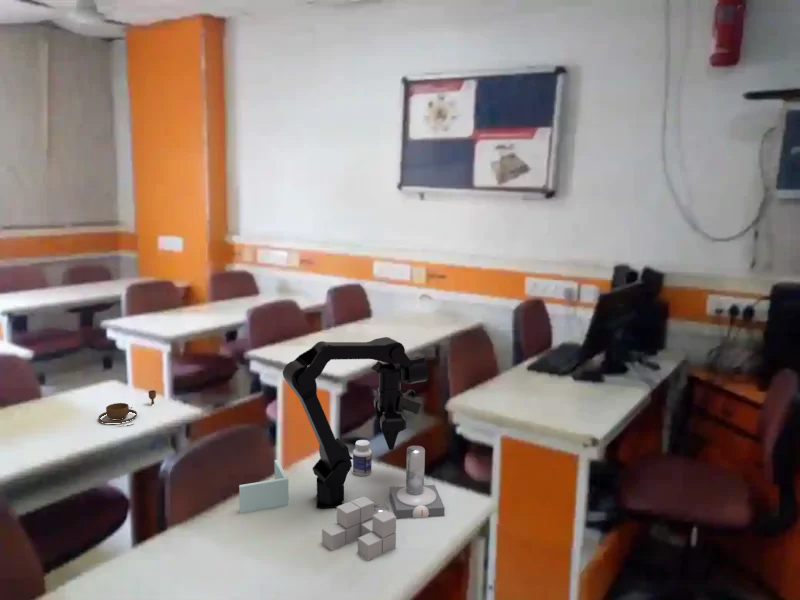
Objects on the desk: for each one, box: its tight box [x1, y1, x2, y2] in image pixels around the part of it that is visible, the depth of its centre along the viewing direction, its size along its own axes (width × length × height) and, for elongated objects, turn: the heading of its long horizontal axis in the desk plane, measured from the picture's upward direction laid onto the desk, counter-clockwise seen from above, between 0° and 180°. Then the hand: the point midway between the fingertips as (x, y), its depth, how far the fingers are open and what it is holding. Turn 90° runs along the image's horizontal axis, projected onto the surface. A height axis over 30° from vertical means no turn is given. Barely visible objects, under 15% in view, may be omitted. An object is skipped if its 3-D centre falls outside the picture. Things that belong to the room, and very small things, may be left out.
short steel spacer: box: [374, 503, 390, 514], centre depth 158 cm, size 4×4×3 cm
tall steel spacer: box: [405, 445, 426, 495], centre depth 166 cm, size 5×5×12 cm
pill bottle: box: [352, 439, 373, 477], centre depth 182 cm, size 5×5×9 cm
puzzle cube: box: [321, 495, 397, 561], centre depth 146 cm, size 12×12×8 cm
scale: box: [389, 484, 446, 520], centre depth 165 cm, size 12×12×4 cm
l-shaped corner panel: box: [238, 459, 290, 514], centre depth 167 cm, size 12×12×8 cm
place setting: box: [98, 389, 157, 423], centre depth 220 cm, size 18×20×6 cm
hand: (388, 442), depth 172 cm, fingers open, 9 cm apart
